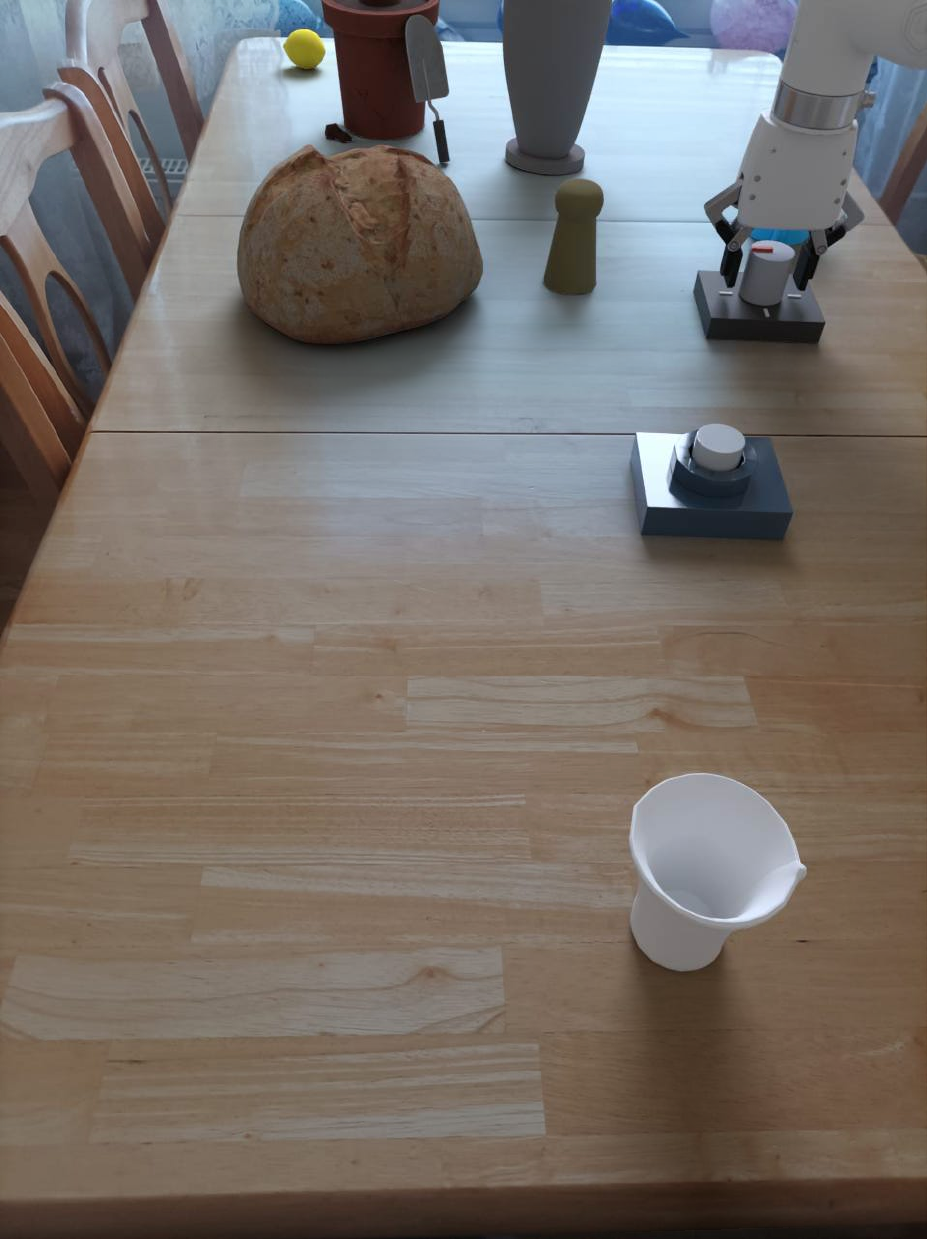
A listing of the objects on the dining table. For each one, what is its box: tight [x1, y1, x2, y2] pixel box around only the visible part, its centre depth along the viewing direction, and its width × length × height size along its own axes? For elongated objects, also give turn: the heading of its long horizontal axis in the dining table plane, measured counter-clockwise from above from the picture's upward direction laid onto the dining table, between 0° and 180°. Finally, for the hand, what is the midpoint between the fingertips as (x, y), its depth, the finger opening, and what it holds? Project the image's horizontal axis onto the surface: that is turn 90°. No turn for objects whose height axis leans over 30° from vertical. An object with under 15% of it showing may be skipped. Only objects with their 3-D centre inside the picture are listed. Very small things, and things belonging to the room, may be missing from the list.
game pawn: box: [542, 177, 605, 296], centre depth 103 cm, size 6×6×11 cm
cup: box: [628, 772, 808, 972], centre depth 52 cm, size 9×9×10 cm
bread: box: [236, 143, 484, 345], centre depth 98 cm, size 26×23×15 cm
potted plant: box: [320, 0, 451, 164], centre depth 124 cm, size 18×22×25 cm
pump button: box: [692, 423, 745, 472], centre depth 78 cm, size 4×4×2 cm
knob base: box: [693, 269, 827, 344], centre depth 102 cm, size 12×10×3 cm
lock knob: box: [739, 240, 796, 306], centre depth 99 cm, size 5×5×5 cm
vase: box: [502, 0, 613, 176], centre depth 115 cm, size 13×13×35 cm
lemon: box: [282, 28, 326, 70], centre depth 147 cm, size 7×5×5 cm
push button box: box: [629, 428, 794, 542], centre depth 80 cm, size 12×10×5 cm
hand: (763, 281), depth 100 cm, fingers open, 6 cm apart
